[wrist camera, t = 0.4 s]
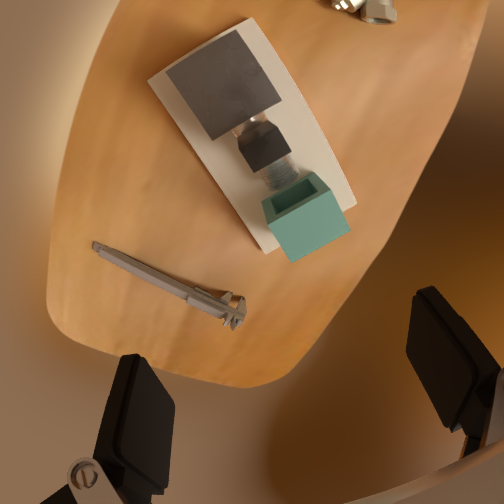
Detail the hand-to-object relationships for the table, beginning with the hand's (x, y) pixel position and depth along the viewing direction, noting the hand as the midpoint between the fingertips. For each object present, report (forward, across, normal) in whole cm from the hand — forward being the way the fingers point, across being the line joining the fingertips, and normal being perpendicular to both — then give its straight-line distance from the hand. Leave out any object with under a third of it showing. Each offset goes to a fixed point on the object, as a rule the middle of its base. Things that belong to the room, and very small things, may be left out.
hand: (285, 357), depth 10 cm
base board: (+25, -2, -3) cm, 26 cm away
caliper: (+26, +12, +10) cm, 30 cm away
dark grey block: (+24, 0, -9) cm, 26 cm away
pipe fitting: (+25, -16, -19) cm, 35 cm away
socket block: (+24, -5, +4) cm, 25 cm away
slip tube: (+23, -1, -6) cm, 24 cm away
